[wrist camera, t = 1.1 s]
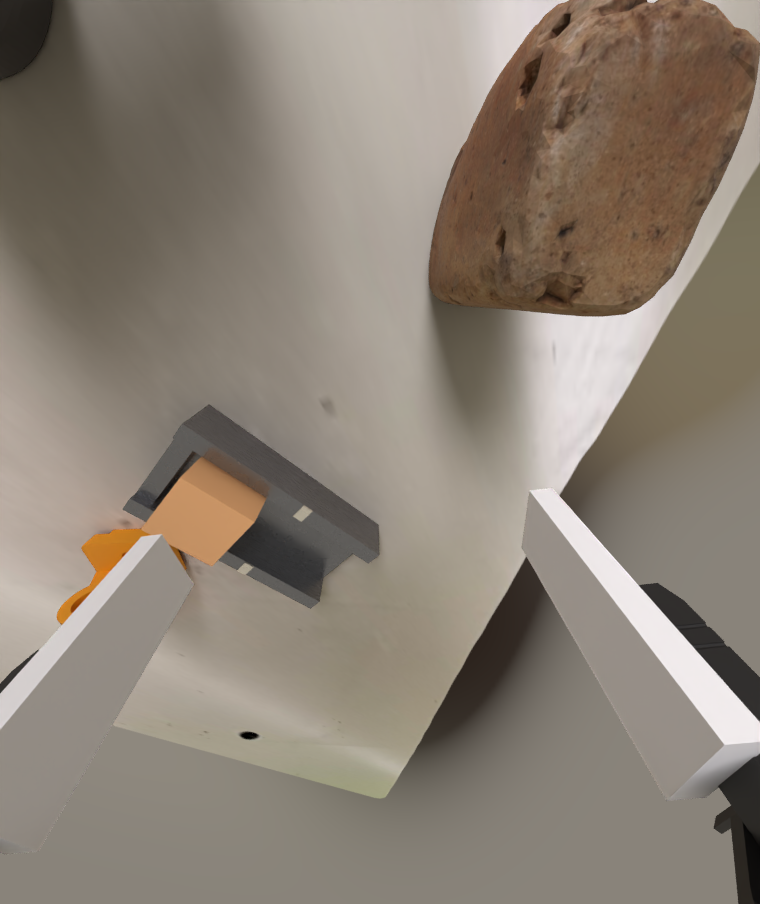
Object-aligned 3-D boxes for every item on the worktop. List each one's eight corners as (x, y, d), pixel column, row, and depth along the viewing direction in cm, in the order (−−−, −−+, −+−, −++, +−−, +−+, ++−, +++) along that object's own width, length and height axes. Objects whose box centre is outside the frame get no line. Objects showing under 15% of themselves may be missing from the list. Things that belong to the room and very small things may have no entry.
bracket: (172, 527, 43) (106, 606, 32) (189, 564, 46) (135, 646, 35) (95, 530, 42) (3, 610, 32) (117, 566, 46) (41, 650, 35)
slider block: (178, 489, 37) (140, 529, 31) (214, 443, 35) (180, 477, 28) (236, 523, 40) (211, 566, 34) (274, 483, 37) (254, 522, 31)
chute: (153, 481, 39) (121, 510, 34) (209, 404, 34) (181, 424, 29) (316, 575, 48) (310, 609, 43) (378, 524, 43) (379, 556, 38)
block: (495, 306, 30) (668, 333, 13) (420, 299, 30) (490, 317, 12) (529, 161, 25) (902, -139, 7) (439, 149, 25) (609, -197, 7)
